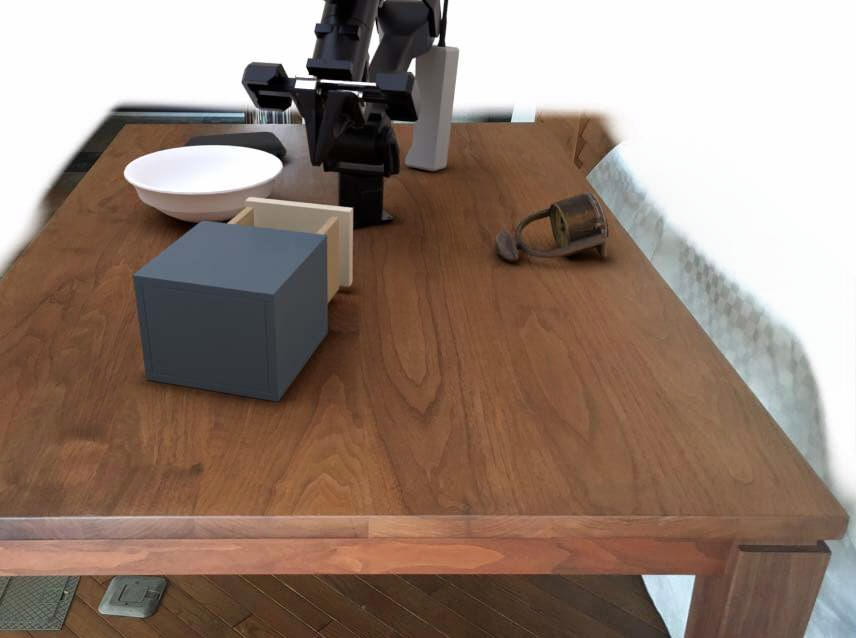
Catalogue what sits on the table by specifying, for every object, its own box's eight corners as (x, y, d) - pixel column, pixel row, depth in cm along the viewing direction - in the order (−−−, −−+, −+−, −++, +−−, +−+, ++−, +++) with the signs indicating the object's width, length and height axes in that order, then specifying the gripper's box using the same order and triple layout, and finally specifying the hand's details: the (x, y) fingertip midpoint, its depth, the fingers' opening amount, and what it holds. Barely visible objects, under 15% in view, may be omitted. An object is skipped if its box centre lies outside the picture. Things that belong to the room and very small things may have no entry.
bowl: (147, 190, 125) (142, 144, 122) (290, 191, 124) (288, 145, 121) (113, 243, 108) (106, 191, 105) (278, 244, 107) (276, 192, 104)
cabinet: (209, 315, 91) (202, 220, 86) (328, 333, 88) (327, 234, 83) (145, 379, 80) (132, 274, 75) (278, 402, 77) (273, 294, 72)
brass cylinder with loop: (621, 230, 96) (620, 182, 103) (501, 212, 98) (508, 165, 105) (603, 284, 101) (604, 235, 108) (490, 266, 103) (497, 218, 110)
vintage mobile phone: (417, 162, 136) (435, -21, 125) (446, 168, 133) (467, -18, 122) (404, 166, 133) (421, -21, 122) (433, 172, 130) (454, -19, 119)
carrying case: (191, 174, 131) (290, 167, 134) (189, 153, 129) (290, 146, 132) (183, 154, 140) (277, 147, 143) (182, 134, 138) (276, 128, 141)
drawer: (266, 257, 102) (263, 185, 98) (363, 269, 99) (364, 195, 95) (205, 318, 89) (198, 238, 84) (314, 334, 86) (313, 252, 81)
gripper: (438, 78, 103) (412, 205, 100) (285, 68, 108) (256, 189, 105) (426, 18, 92) (396, 158, 90) (256, 10, 97) (223, 143, 94)
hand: (315, 164), depth 95 cm, fingers closed
